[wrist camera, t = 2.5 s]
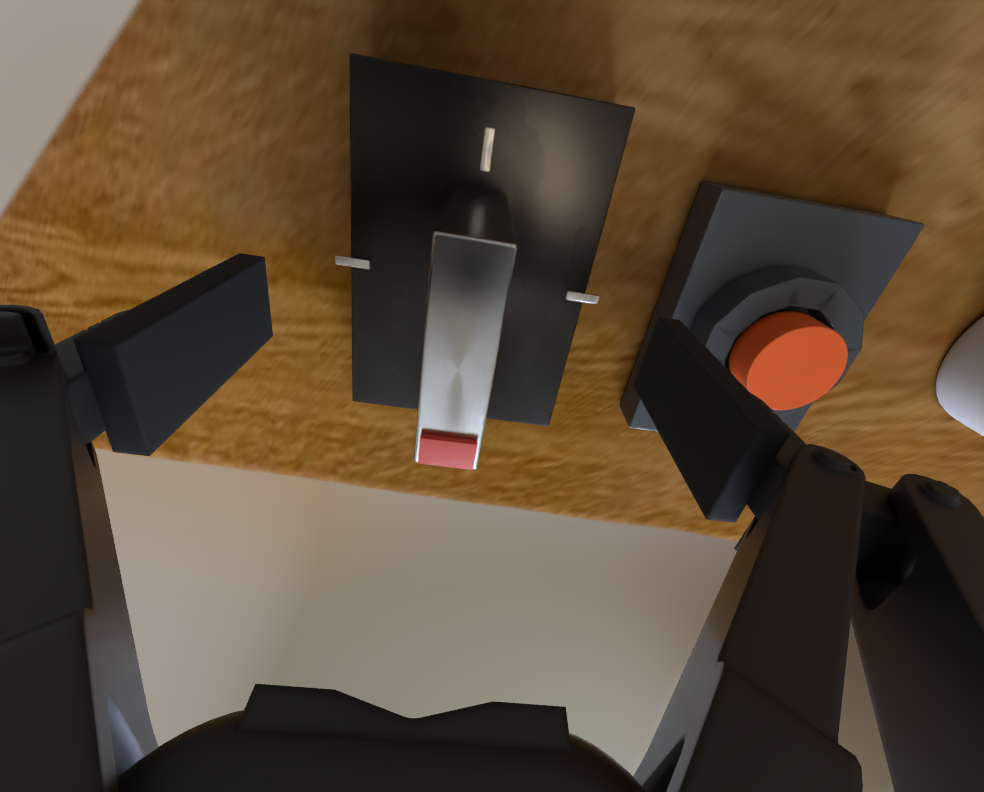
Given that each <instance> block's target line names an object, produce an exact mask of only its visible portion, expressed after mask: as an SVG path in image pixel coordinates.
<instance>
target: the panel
mask: <svg viewBox="0 0 984 792" xmlns="http://www.w3.org/2000/svg"><path fill="white" fill-rule="evenodd" d="M634 112H635V108H634V107H629V106H624V105H618V104H613V103H608V102H603V101H598V100H592V99H587V98H582V97H577V96H571V95H566V94H561V93H556V92H550V91H545V90H540V89H535V88H529V87H524V86H519V85H514V84H509V83H503V82H498V81H493V80H488V79H482V78H477V77H472V76H467V75H461V74H456V73H451V72H446V71H441V70H435V69H430V68H425V67H420V66H414V65H409V64H404V63H399V62H393V61H388V60H383V59H378V58H372V57H367V56H362V55H357V54H352V53H351V54H350V161H351V257H348V256H342V255H336V256H335V262H336V264H338V265H344V266H351V272H352V384H353V401H357V402H365V403H373V404H380V405H388V406H396V407H404V408H412V409H418V405H419V393H420V381H421V369H422V357H423V345H424V333H425V321H426V309H427V297H428V285H429V273H430V261H431V249H432V237H433V232H434V230H435V228H436V227H437V225H438V223H439V221H440V219H441V217H442V215H443V213H444V211H445V209H446V207H447V205H448V203H449V201H450V199H451V197H452V195H453V193H454V191H455V189H456V187H460V188H466V189H472V190H478V191H484V192H490V193H496V194H501V195H506V196H507V199H508V204H509V209H510V214H511V219H512V224H513V229H514V234H515V238H516V243H517V252H516V257H515V263H514V268H513V274H512V279H511V285H510V290H509V296H508V301H507V307H506V313H505V318H504V324H503V329H502V335H501V340H500V346H499V351H498V357H497V362H496V368H495V373H494V379H493V384H492V390H491V395H490V401H489V406H488V412H487V417H486V418H490V419H498V420H505V421H513V422H521V423H529V424H537V425H544V426H549V423H550V419H551V415H552V412H553V408H554V405H555V401H556V397H557V394H558V390H559V386H560V383H561V379H562V375H563V372H564V368H565V364H566V361H567V357H568V353H569V350H570V346H571V342H572V339H573V335H574V331H575V328H576V324H577V320H578V317H579V313H580V309H581V306H582V302H587V303H594V304H597V303H598V299H599V295H595V294H588V293H585V291H586V288H587V284H588V280H589V277H590V273H591V269H592V266H593V262H594V258H595V255H596V251H597V247H598V244H599V240H600V236H601V233H602V229H603V225H604V222H605V218H606V214H607V211H608V207H609V203H610V200H611V196H612V192H613V189H614V185H615V181H616V178H617V174H618V170H619V167H620V163H621V160H622V156H623V152H624V149H625V145H626V141H627V138H628V134H629V130H630V127H631V123H632V119H633V116H634Z"/></svg>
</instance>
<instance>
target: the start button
mask: <svg viewBox="0 0 984 792" xmlns="http://www.w3.org/2000/svg"><path fill="white" fill-rule="evenodd" d="M847 359H848V350H847V345H846V343H845V341H844V339H843V338H842V336H841V335H840V334H839V333H837V332H836V331H834V330H833V329H831V328H829V327H828V326H826V325H824V324H823V323H821V322H820V321H818V320H816V319H815V318H813V317H811V316H810V315H808V314H806V313H803V312H799V311H781V312H777V313H773V314H770V315H767V316H765V317H763V318H761V319H759V320H758V321H756V322H754V323H753V324H752V325H750V326H749V327H748V328H747V329H746V330H745V331H744V332H743V333H742V334H741V335H740V336H739V338H738V339H737V340H736V342H735V344H734V346H733V348H732V350H731V353H730V358H729V368H730V372H731V373H732V374H733V375H734V376H735V378H736V379H737V380H738V381H739V382H740V383H741V384H742V385H743V386H744V387H745V388H746V389H747V390H748V391H749V392H750V393H752V394H753V395H755V396H757V397H758V398H760V399H761V400H763V401H764V402H765V403H766V404H767V405H768V406H769V407H770V408H771V409H773V410H788V409H794V408H798V407H801V406H804V405H806V404H809V403H811V402H813V401H814V400H816V399H818V398H819V397H821V396H822V395H824V394H825V393H826V392H827V391H829V390H830V389H831V388H832V387H833V386H834V385H835V383H836V382H837V381H838V380H839V378H840V377H841V375H842V373H843V371H844V369H845V367H846V363H847Z"/></svg>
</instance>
